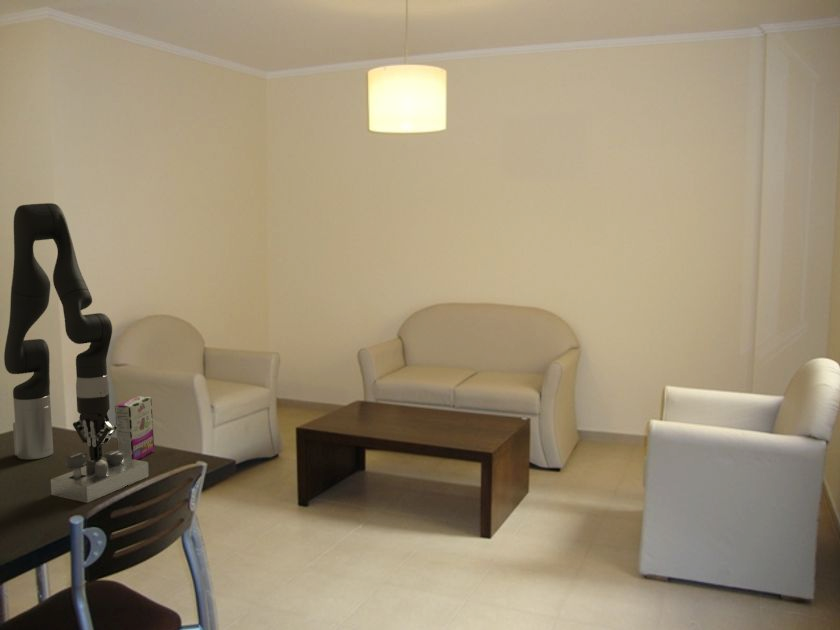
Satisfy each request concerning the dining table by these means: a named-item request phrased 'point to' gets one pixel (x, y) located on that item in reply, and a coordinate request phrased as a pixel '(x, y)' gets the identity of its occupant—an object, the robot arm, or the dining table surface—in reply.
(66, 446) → the dining table surface
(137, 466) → the mount
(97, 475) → the pot post
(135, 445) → the candy bar box
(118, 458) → the knob
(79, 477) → the knob
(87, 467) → the knob
